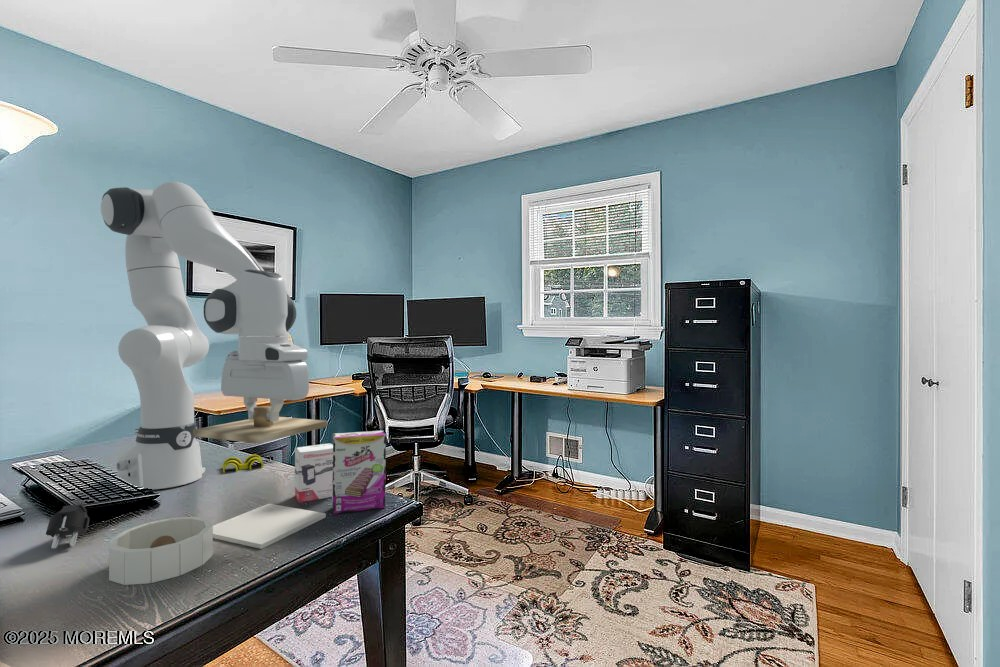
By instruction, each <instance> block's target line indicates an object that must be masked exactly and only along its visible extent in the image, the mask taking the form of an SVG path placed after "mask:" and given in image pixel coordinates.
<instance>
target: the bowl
mask: <svg viewBox="0 0 1000 667" xmlns="http://www.w3.org/2000/svg"><path fill="white" fill-rule="evenodd" d="M161 536H171V537H172V538H174V540H175V542H176V543H173V544H168V545H164V546H159V547H155V548H150V546H151V544H152V543H153V541H154V540H155V539H157V538H159V537H161ZM213 555H214V538H213V523H212V521H211V519H210V518H205V517H199V516H184V517H179V516H178V517H170V518H166V519H160V520H156V521H150V522H145V523H143V524H141V525H137V526H134V527H131V528H129V529H125V530H124V531H122V532H120V533H119V534H117V535H115V536H114V537H113V538H111V539H109V543H108V580H109V581H111V582H114V583H117V584H120V585H123V586H129V585H131V586H132V585H145V584H154V583H157V582H160V581H165V580H169V579H173V578H176V577H180V576H182V575H185V574H187V573H189V572H191V571H194V570H195V569H198V568H199V567H202V566H204V565H205V563H206V562H208V560H210V559H211V558H212V557H213Z"/></svg>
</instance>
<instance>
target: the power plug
mask: <svg viewBox="0 0 1000 667" xmlns="http://www.w3.org/2000/svg"><path fill="white" fill-rule="evenodd" d="M47 524H48V525H47V529H46V531H45V535H47V536H50V537H52V538H53V539H52V544H51V547H50V549H52V550H55V549H57V548H58V544H59V541H60V539H64V538H66V539H67V538H70V537H71V538H70V542H69V547H75V546H76V544H77V543H76V542H77V539H78V537H79V536H82V535H85V534H86V533H87V532H88V528H89V526H90V525H89V524H90V517H89V516H88V510H87V509H86V507H85V506H84V505H83V504H82V503H78V504H71V505H70V504H69V505H64V506H62V509H61V510H59V511H57V512H55V514H53V515H51V516H50V518H49V521H48V523H47Z"/></svg>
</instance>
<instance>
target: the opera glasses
mask: <svg viewBox="0 0 1000 667" xmlns="http://www.w3.org/2000/svg"><path fill="white" fill-rule="evenodd" d="M255 462H258V463H259V464H260V468H261V469H263V468H264V463H263V459H262V457H261V456H260V455H258V454H256V453H255V454H254V453H253V454H250V455H248V456H247V457H246V458H245V459H244V462H242V460H241V459H240V458H238V457H236V456H230V457H228V458H226V459H225V460H224V461H223V463H222V466H221V467H222V469H223V470H222V472H223V474H224V473H226V468H227V467H228V466H231V465H232V466H234V467H235V473H236V472H237V473H238V471H240V470H247V469H248V470H249V471H251V470H253V469H252V465H253V464H254V463H255Z"/></svg>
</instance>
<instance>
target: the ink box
mask: <svg viewBox="0 0 1000 667" xmlns="http://www.w3.org/2000/svg"><path fill="white" fill-rule="evenodd" d="M332 478H333V443H321V444H314V445H307V446H297V448H295V449H294V489H295V490H294V492H295V493H294V495H295V498H296V501H297V502H298V503H300V504H301V503H305V501H306V502H310V501H315V500H321V499H327V498H332Z"/></svg>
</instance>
